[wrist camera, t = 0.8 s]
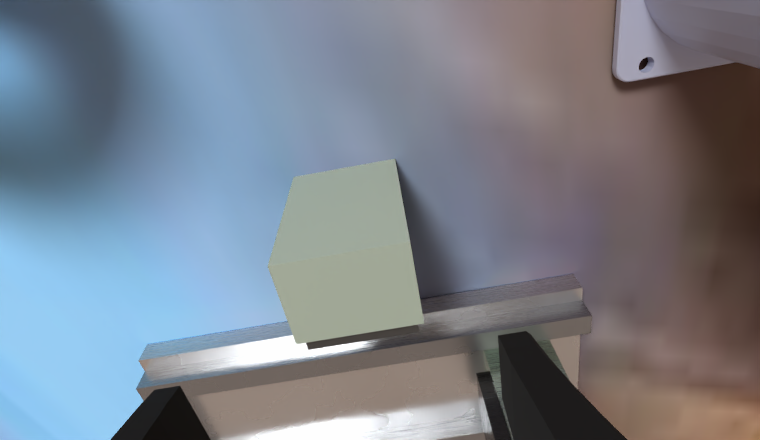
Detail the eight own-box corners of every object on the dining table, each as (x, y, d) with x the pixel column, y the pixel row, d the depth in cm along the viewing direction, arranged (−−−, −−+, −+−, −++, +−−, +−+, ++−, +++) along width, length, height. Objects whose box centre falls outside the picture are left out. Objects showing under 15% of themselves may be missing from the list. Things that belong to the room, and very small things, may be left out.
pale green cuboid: (293, 177, 18) (267, 266, 13) (394, 158, 18) (410, 241, 13) (316, 252, 20) (301, 357, 15) (408, 236, 20) (426, 337, 14)
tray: (573, 274, 21) (660, 404, 15) (568, 405, 25) (634, 547, 19) (147, 344, 22) (66, 492, 16) (214, 459, 26) (170, 609, 20)
